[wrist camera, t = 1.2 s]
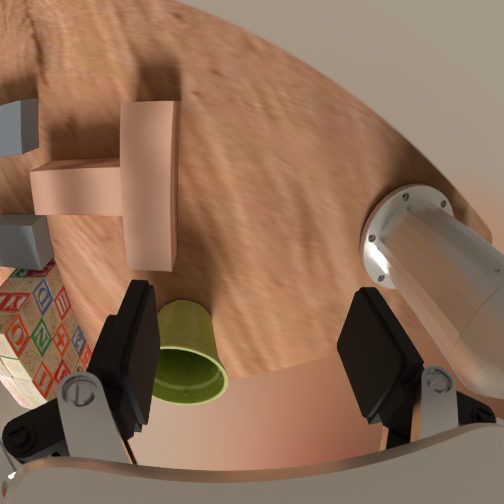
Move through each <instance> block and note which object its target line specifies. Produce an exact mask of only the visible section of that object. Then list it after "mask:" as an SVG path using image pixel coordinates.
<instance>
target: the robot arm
mask: <svg viewBox="0 0 504 504" xmlns="http://www.w3.org/2000/svg"><path fill="white" fill-rule="evenodd" d="M360 257H361V261H362V264H363V266H364V268H365V270H366V272H367V273H368V275H369V276H370V277H371V279H372V280H373V281H374V282H375V283H377V284H378V285H381V286H383V287H385V288H390V289H397V290H398V291H399V292H400V294H401V295H402V296H403V298H404V299H405V300H406V302H407V303H408V304H409V306H410V307H411V308H412V310H413V311H414V313H415V314H416V315H417V317H418V318H419V320H420V321H421V322H422V324H423V325H424V327H425V328H426V329H427V331H428V332H429V334H430V335H431V337H432V338H433V339H434V341H435V343H436V344H437V346H438V347H439V349H440V350H441V352H442V353H443V355H444V356H445V358H446V359H447V361H448V362H449V364H450V365H451V367H452V368H453V369H454V371H455V373H456V374H457V376H458V377H459V378H460V380H461V381H462V383H463V384H464V385H465V386H466V387H467V388H469V389H470V390H472V391H473V392H475V393H477V394H479V395H483V396H488V397H494V398H500V399H504V255H503V254H502V253H501V252H499V251H498V250H497V249H496V248H494V247H493V246H492V245H491V244H489V243H488V242H487V241H485V240H484V239H483V238H482V237H480V236H479V235H478V234H476V233H475V232H474V231H472V230H471V229H469V228H468V227H467V226H465V225H464V224H463V223H461V222H460V221H458V220H457V219H455V218H454V214H453V210H452V207H451V205H450V203H449V201H448V199H447V198H446V197H445V196H444V194H443V193H441V192H440V191H438V190H437V189H435V188H433V187H431V186H429V185H425V184H421V183H418V184H409V185H405V186H402V187H400V188H398V189H396V190H394V191H392V192H391V193H389V194H388V195H387V196H385V197H384V198H383V199H382V200H381V201H380V202H379V203H378V204H377V205H376V207H375V208H374V210H373V211H372V213H371V214H370V215H369V218H368V220H367V222H366V224H365V226H364V229H363V232H362V236H361V242H360ZM160 344H161V343H160V334H159V326H158V318H157V310H156V301H155V292H154V286H153V285H149V283H148V281H147V280H131V282H130V285H129V287H128V289H127V292H126V294H125V296H124V299H123V301H122V304H121V306H120V309H119V311H118V314H117V315H109V316H108V317H107V319H106V321H105V323H104V326H103V328H102V331H101V333H100V336H99V338H98V341H97V343H96V346H95V348H94V351H93V353H92V356H91V359H90V361H89V364H88V367H87V369H86V372H83V371H80V372H74V373H71V374H68V375H67V376H66V377H64V378H63V379H62V380H61V382H60V383H59V385H58V388H57V397H56V398H54V399H52V400H50V401H48V402H46V403H44V404H43V405H41V406H39V407H37V408H35V409H33V410H31V411H29V412H27V413H25V414H23V415H21V416H18V417H17V418H14V419H13V420H11V421H10V422H8V423H7V425H6V426H5V427H4V430H3V434H2V437H1V438H0V504H504V420H501V419H500V418H495V415H494V413H493V411H492V410H491V408H489V406H487V405H485V404H484V403H481V402H479V401H477V400H475V399H473V398H471V397H469V396H467V395H465V394H462V393H460V392H458V391H456V386H455V381H454V379H453V377H452V375H451V374H450V373H449V372H448V371H447V370H445V369H444V368H441V367H439V366H429V367H427V368H425V369H424V367H423V363H424V361H423V360H422V358H421V356H420V354H419V353H418V351H417V350H416V348H415V346H414V345H413V343H412V341H411V340H410V338H409V337H408V335H407V334H406V332H405V330H404V329H403V327H402V326H401V324H400V323H399V321H398V319H397V318H396V316H395V315H394V313H393V312H392V310H391V309H390V307H389V306H388V304H387V303H386V301H385V300H384V298H383V297H382V295H381V294H380V293H379V291H378V290H377V288H375V287H362V288H360V289H359V291H356V292H355V295H354V297H353V300H352V303H351V306H350V309H349V312H348V315H347V318H346V320H345V323H344V326H343V328H342V331H341V334H340V336H339V339H338V342H337V350H338V353H339V355H340V357H341V360H342V363H343V365H344V368H345V371H346V373H347V376H348V378H349V381H350V384H351V386H352V389H353V392H354V394H355V397H356V400H357V402H358V405H359V408H360V411H361V413H362V416H363V417H364V418H367V420H368V423H369V425H370V424H374V423H379V422H382V423H383V426H384V429H383V435H382V441H381V446H380V451H379V452H376V453H372V454H367V455H363V456H358V457H354V458H349V459H344V460H338V461H333V462H327V463H321V464H314V465H307V466H298V467H289V468H279V469H265V470H244V471H206V470H185V469H172V468H160V467H151V466H142V465H139V463H138V461H137V459H136V457H135V455H134V452H133V450H132V448H131V445H130V443H129V441H128V439H130V438H131V437H133V436H134V432H141V430H142V424H144V425H147V423H148V418H149V412H150V405H151V398H152V392H153V386H154V380H155V375H156V369H157V363H158V358H159V353H160Z"/></svg>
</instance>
